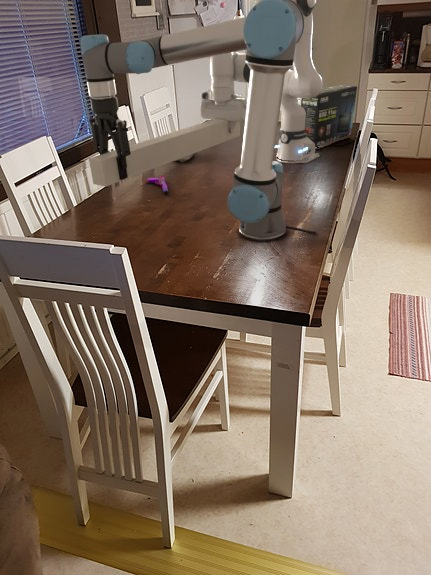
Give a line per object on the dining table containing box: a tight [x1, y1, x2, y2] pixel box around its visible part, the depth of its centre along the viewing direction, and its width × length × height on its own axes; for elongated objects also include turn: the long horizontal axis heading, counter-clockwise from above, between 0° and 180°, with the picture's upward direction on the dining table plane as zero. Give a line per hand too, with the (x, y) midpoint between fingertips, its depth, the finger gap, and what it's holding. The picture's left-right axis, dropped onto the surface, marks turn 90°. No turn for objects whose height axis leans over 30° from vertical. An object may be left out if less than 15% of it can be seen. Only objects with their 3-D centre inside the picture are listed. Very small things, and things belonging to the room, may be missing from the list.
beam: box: [88, 119, 241, 188], centre depth 160 cm, size 72×6×8 cm, turn 144°
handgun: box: [146, 176, 169, 196], centre depth 190 cm, size 21×8×2 cm, turn 11°
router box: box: [300, 84, 358, 146], centre depth 238 cm, size 36×11×27 cm, turn 134°
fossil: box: [174, 152, 199, 163], centre depth 229 cm, size 18×11×15 cm
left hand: (116, 177), depth 142 cm, fingers closed on beam, 6 cm apart
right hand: (224, 131), depth 180 cm, fingers closed on beam, 5 cm apart
